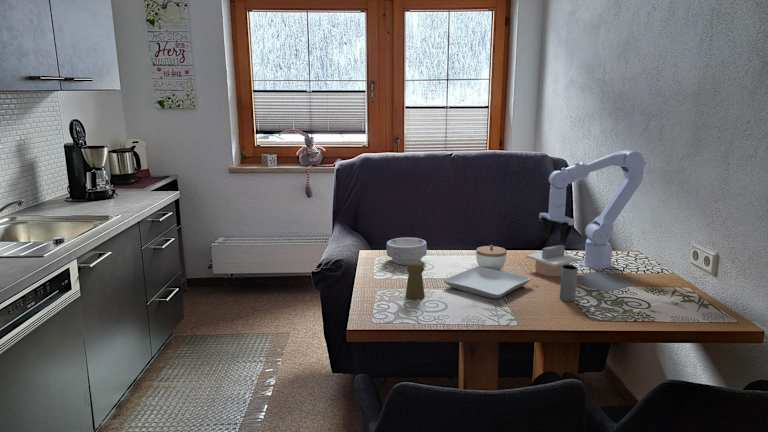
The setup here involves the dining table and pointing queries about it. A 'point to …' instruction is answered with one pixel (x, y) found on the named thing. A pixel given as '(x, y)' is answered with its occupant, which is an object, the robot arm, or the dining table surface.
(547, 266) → the bowl
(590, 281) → the mat
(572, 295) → the planter
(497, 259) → the lidded jar
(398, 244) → the grey round bowl
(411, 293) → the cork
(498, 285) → the salad plate
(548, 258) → the cover
